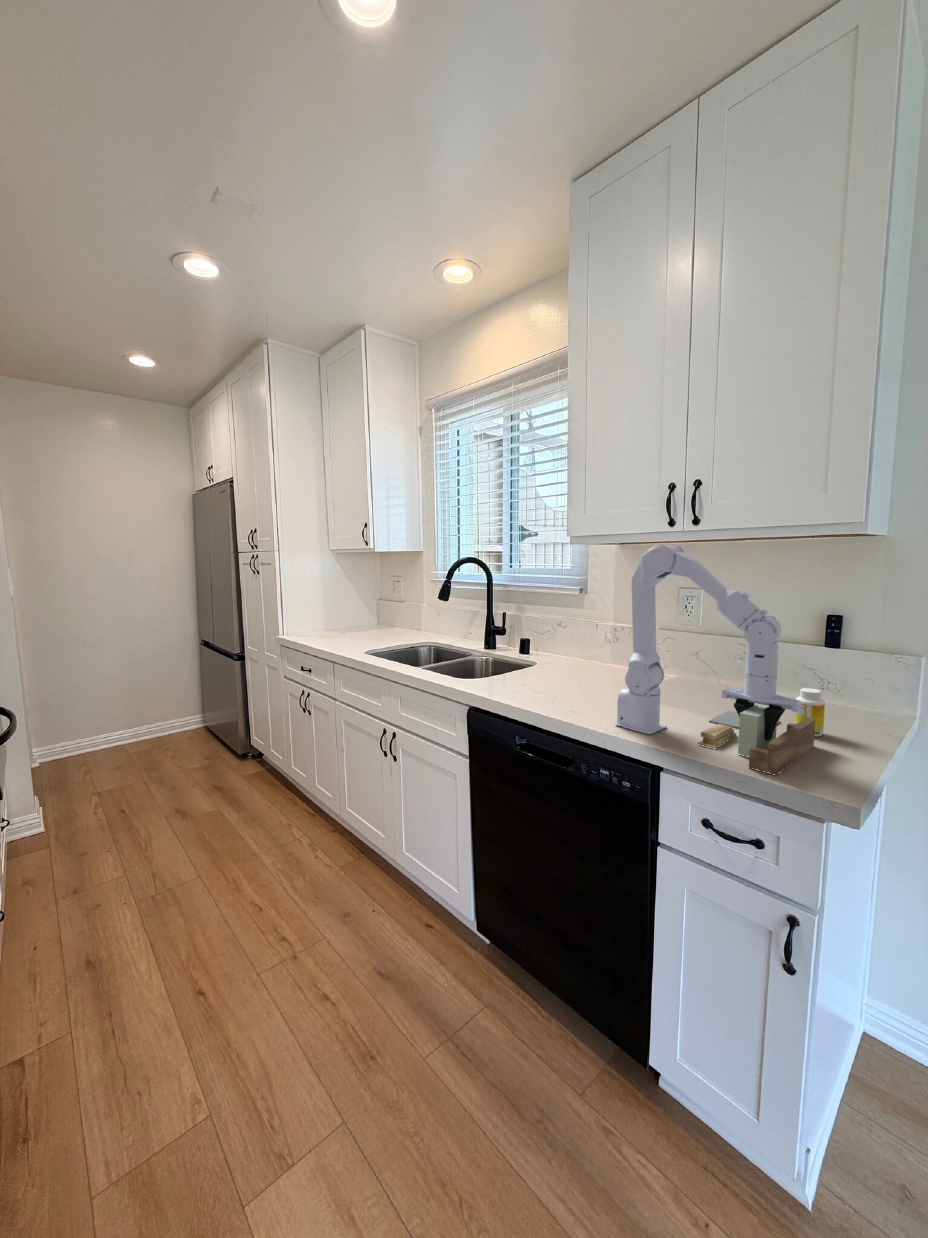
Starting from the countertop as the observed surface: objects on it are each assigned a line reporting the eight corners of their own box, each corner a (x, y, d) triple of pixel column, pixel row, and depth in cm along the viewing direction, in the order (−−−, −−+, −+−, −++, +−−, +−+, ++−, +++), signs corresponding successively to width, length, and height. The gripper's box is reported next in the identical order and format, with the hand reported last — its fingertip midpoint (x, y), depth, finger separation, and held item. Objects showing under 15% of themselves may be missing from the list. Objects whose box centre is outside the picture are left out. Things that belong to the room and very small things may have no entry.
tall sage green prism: (737, 755, 106) (739, 713, 105) (758, 741, 113) (760, 702, 112) (755, 759, 103) (757, 716, 102) (775, 745, 110) (777, 705, 109)
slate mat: (708, 722, 127) (709, 720, 126) (729, 711, 134) (729, 710, 134) (761, 734, 117) (761, 732, 117) (780, 722, 125) (780, 720, 125)
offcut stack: (697, 747, 112) (698, 734, 111) (719, 733, 120) (719, 721, 119) (715, 751, 109) (716, 738, 109) (736, 737, 117) (737, 725, 117)
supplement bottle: (824, 732, 117) (827, 689, 116) (820, 739, 113) (823, 694, 112) (796, 727, 121) (798, 685, 120) (791, 734, 117) (793, 690, 116)
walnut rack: (748, 768, 99) (750, 738, 98) (788, 740, 113) (790, 714, 113) (776, 776, 96) (777, 745, 95) (813, 746, 110) (815, 719, 109)
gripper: (807, 676, 103) (803, 741, 105) (732, 666, 114) (730, 724, 116) (795, 682, 99) (791, 750, 100) (718, 671, 110) (716, 732, 111)
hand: (757, 737), depth 108 cm, fingers closed on tall sage green prism, 3 cm apart
